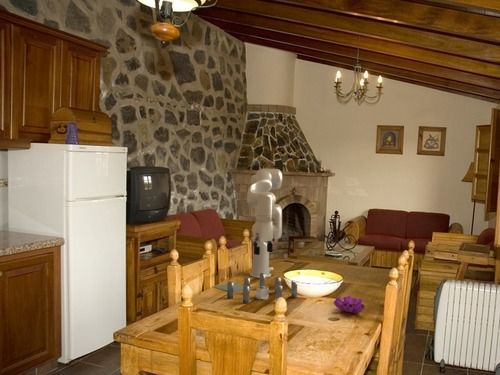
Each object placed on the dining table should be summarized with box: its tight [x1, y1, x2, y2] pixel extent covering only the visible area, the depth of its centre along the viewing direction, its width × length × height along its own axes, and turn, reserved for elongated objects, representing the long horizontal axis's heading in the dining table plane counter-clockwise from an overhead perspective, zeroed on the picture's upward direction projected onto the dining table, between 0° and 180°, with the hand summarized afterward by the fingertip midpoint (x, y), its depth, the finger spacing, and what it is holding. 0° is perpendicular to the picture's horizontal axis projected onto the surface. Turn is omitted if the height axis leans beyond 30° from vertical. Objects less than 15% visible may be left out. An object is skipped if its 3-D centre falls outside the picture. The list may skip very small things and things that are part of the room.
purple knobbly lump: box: [333, 295, 366, 314], centre depth 212 cm, size 11×15×10 cm
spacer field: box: [226, 273, 298, 305], centre depth 230 cm, size 27×24×8 cm
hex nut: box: [255, 285, 270, 300], centre depth 230 cm, size 6×6×5 cm
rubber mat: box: [213, 282, 251, 294], centre depth 247 cm, size 14×14×1 cm
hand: (263, 253), depth 229 cm, fingers open, 9 cm apart
